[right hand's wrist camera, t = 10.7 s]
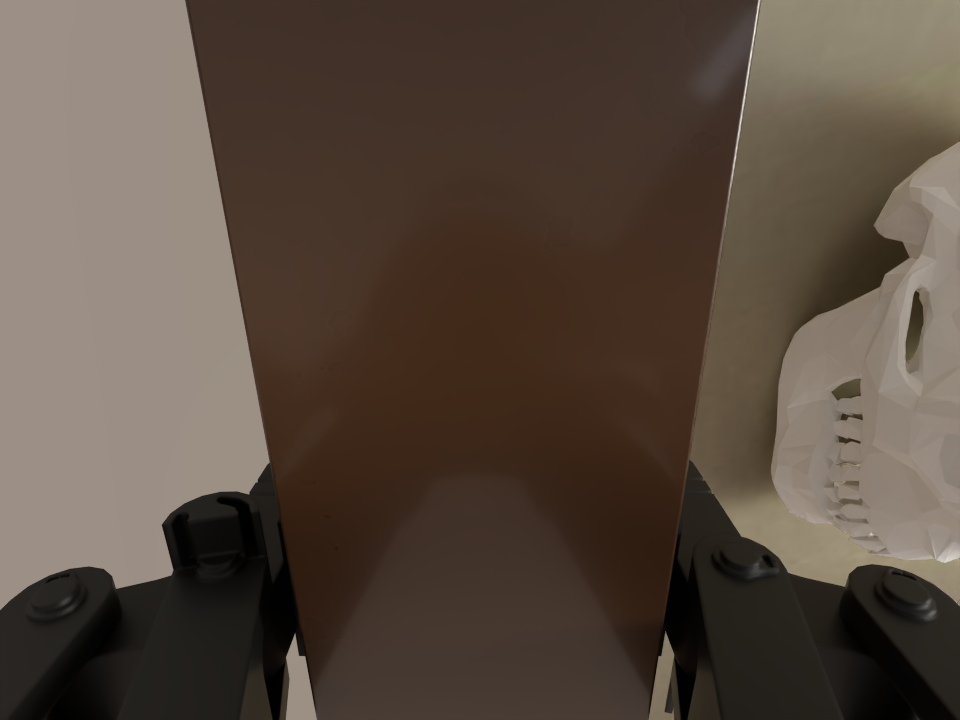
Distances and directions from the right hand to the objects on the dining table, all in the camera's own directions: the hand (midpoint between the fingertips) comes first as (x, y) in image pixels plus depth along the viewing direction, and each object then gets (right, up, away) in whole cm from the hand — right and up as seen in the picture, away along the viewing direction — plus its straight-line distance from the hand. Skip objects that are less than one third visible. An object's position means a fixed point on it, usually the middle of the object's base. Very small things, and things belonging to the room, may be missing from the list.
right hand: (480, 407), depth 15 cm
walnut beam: (0, +7, -4) cm, 8 cm away
